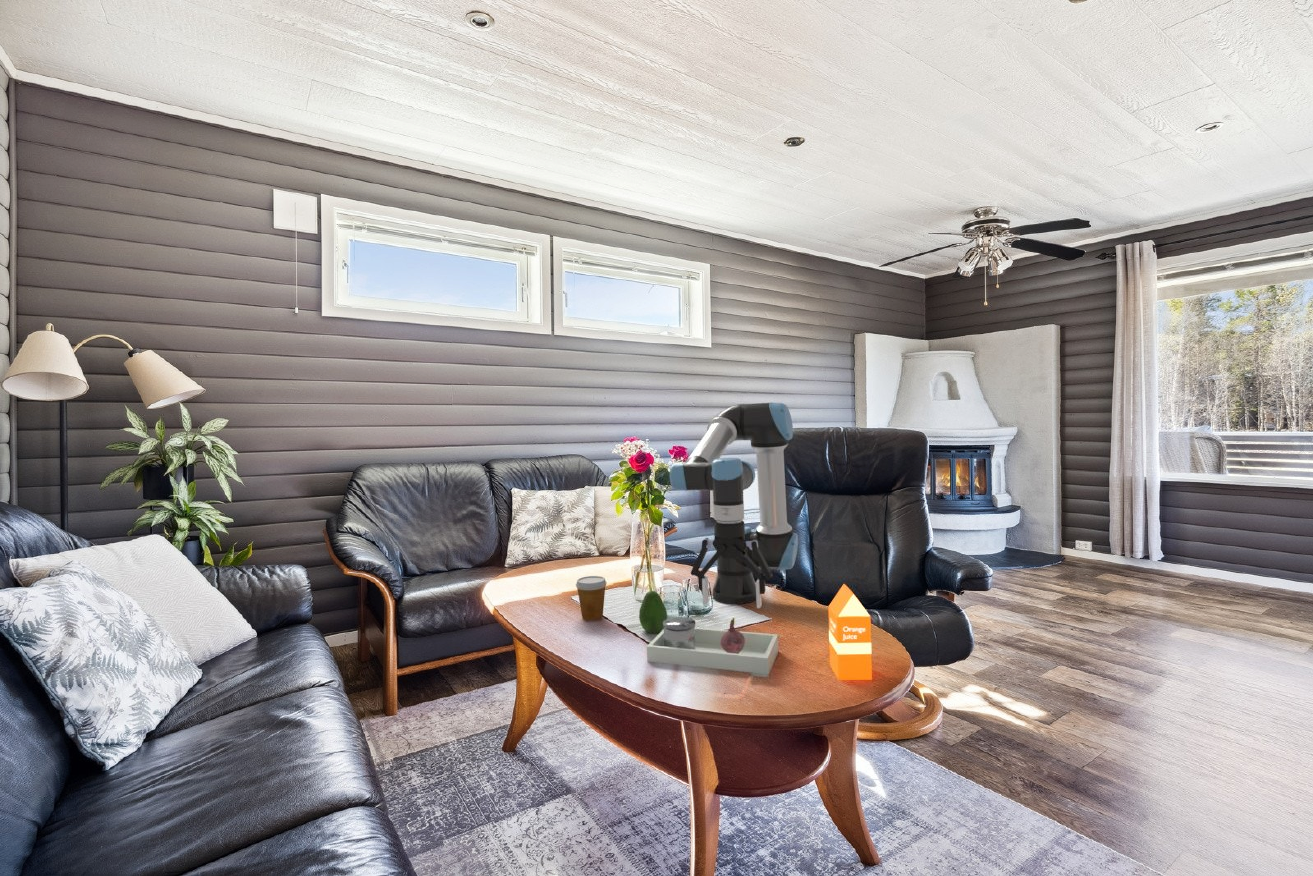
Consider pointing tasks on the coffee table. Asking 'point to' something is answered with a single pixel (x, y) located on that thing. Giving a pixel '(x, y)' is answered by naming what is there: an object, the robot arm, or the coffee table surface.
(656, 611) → the avocado
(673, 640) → the tin
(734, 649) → the vegetable
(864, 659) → the orange juice
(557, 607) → the coffee table surface
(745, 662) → the grey tray
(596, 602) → the disposable coffee cup
